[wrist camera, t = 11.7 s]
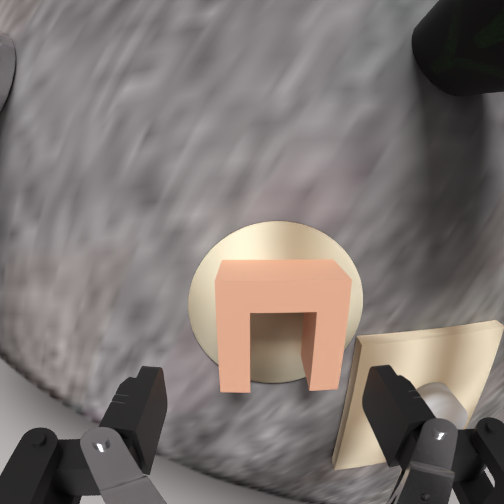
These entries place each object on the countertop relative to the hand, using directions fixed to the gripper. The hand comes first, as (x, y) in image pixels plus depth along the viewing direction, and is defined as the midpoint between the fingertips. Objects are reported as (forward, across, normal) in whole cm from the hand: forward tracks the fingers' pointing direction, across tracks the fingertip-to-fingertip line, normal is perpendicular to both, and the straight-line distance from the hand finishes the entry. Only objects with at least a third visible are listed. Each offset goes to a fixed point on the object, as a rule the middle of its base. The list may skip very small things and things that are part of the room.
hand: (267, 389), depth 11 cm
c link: (+7, -1, 0) cm, 7 cm away
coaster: (+7, -1, 0) cm, 7 cm away
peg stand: (+7, -12, +8) cm, 16 cm away
